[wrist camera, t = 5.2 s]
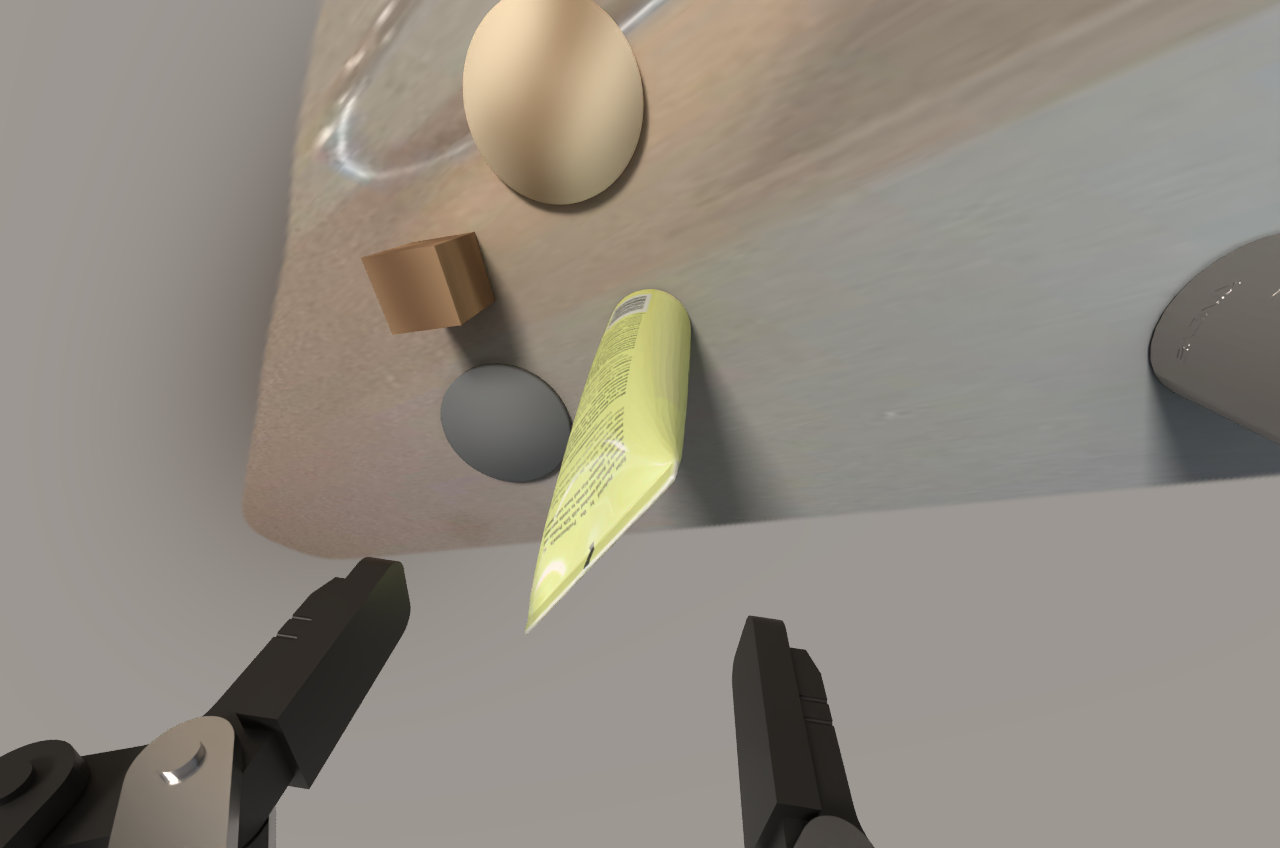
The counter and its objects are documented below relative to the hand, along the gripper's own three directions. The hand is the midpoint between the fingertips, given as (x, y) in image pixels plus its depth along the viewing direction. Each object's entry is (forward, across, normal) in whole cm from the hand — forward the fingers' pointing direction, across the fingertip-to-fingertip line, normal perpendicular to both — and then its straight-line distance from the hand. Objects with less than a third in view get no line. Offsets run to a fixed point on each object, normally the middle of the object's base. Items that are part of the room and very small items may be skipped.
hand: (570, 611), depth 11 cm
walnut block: (+21, +12, -2) cm, 24 cm away
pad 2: (+21, +9, +8) cm, 24 cm away
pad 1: (+21, +6, -11) cm, 24 cm away
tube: (+21, 0, 0) cm, 21 cm away
